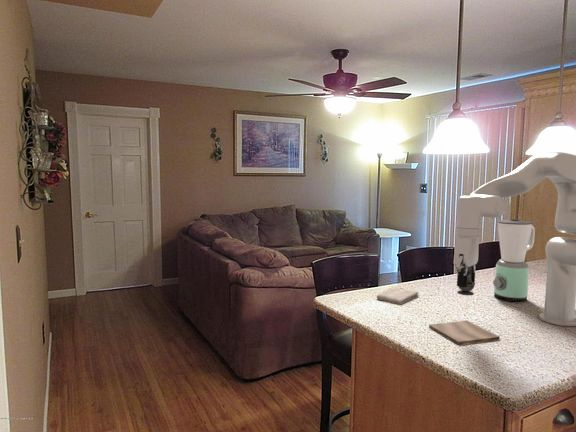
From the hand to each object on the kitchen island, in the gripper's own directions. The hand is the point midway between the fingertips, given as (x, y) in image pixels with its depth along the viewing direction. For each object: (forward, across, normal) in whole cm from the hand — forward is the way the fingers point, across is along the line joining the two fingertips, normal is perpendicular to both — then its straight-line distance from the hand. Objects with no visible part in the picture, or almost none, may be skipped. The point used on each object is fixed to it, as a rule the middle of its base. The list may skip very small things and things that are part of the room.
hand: (465, 284), depth 146 cm
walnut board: (+17, 0, 0) cm, 17 cm away
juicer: (+18, -56, -1) cm, 59 cm away
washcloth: (+18, -22, -37) cm, 47 cm away
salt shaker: (+3, 0, 0) cm, 3 cm away
